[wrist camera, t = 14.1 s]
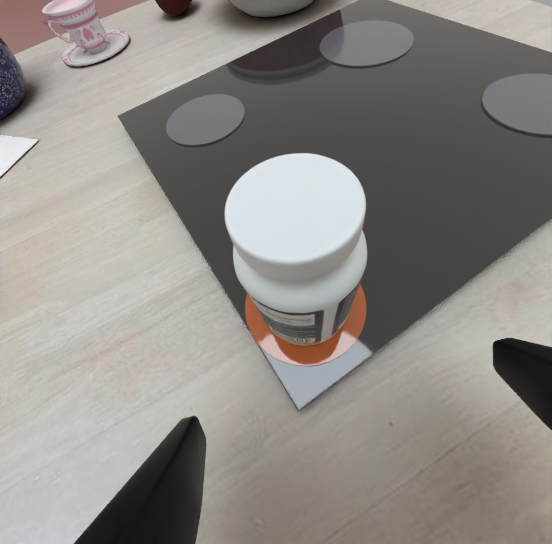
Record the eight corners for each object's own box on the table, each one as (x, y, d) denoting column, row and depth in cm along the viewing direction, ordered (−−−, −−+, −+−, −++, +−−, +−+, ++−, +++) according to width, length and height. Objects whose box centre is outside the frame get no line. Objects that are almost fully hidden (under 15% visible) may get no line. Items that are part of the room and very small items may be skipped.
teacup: (114, 27, 49) (89, -20, 44) (141, 43, 44) (117, -8, 39) (56, 56, 47) (22, 9, 41) (78, 76, 42) (42, 26, 36)
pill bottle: (312, 253, 19) (311, 120, 10) (367, 314, 16) (428, 208, 8) (246, 295, 18) (182, 191, 9) (293, 368, 15) (265, 317, 7)
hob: (682, 119, 22) (708, 99, 21) (300, 410, 16) (298, 411, 14) (368, 8, 39) (370, -7, 38) (125, 127, 33) (116, 114, 32)
